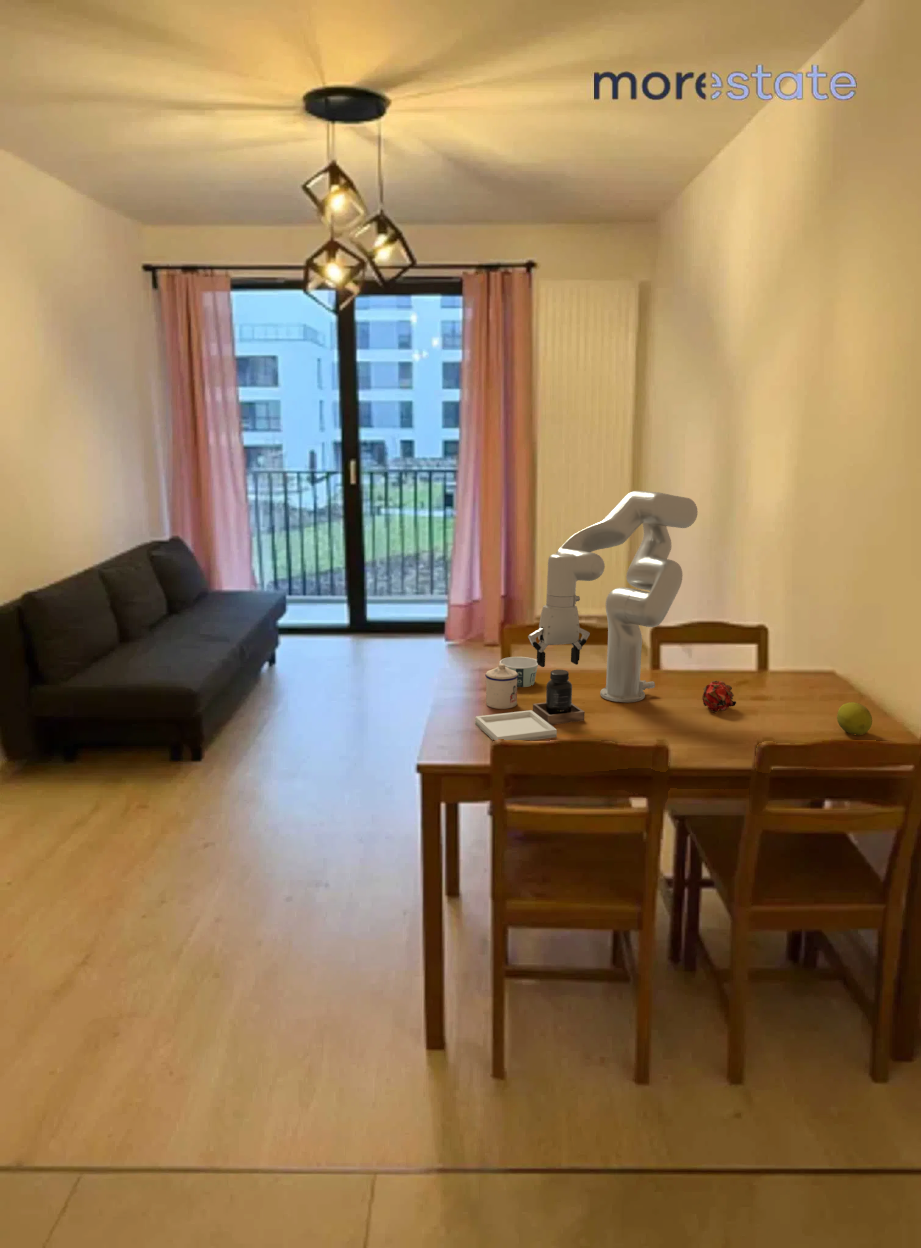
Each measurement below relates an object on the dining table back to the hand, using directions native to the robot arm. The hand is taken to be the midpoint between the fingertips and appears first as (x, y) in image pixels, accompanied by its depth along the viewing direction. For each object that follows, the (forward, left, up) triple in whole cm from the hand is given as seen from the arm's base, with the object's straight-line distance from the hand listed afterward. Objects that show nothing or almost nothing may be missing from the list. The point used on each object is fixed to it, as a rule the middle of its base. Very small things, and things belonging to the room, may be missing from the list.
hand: (557, 664), depth 242 cm
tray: (+14, +6, -15) cm, 21 cm away
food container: (-3, -32, -15) cm, 36 cm away
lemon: (-67, +36, -15) cm, 77 cm away
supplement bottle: (-1, 0, -14) cm, 14 cm away
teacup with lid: (+9, -16, -15) cm, 24 cm away
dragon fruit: (-45, +9, -15) cm, 48 cm away
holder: (-1, 0, -15) cm, 15 cm away
